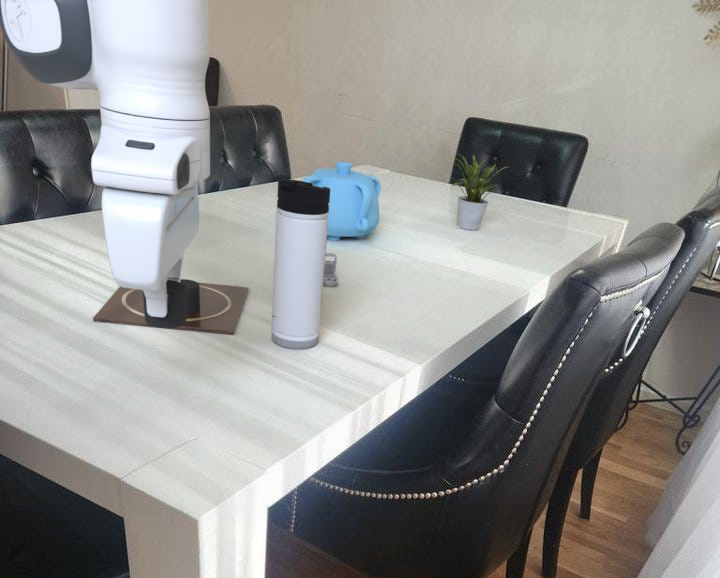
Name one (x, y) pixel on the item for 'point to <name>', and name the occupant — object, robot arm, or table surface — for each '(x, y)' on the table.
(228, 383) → the table surface
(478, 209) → the house plant
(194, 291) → the eye puck
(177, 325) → the eye puck
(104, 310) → the board
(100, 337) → the table surface
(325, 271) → the strap clip
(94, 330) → the table surface
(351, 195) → the decorative pot
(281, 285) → the travel mug
